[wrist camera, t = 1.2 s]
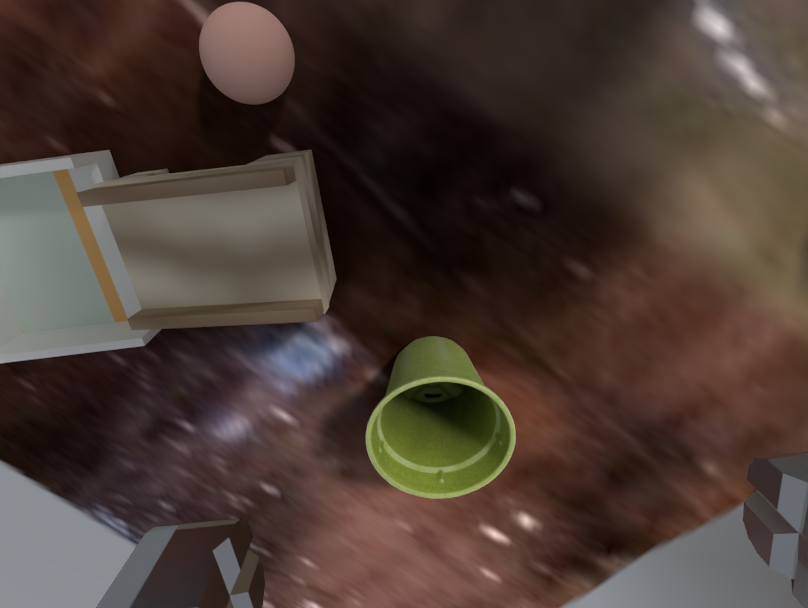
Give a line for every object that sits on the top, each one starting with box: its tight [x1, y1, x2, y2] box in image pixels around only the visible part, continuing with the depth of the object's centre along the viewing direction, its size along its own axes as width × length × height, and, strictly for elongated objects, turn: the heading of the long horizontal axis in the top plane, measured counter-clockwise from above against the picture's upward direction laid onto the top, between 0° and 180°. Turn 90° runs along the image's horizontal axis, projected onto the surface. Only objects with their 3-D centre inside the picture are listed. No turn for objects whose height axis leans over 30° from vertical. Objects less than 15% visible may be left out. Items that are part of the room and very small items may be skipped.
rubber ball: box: [199, 2, 295, 105], centre depth 26 cm, size 5×5×5 cm
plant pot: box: [366, 336, 516, 498], centre depth 33 cm, size 9×9×9 cm
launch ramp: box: [77, 150, 337, 330], centre depth 29 cm, size 9×12×7 cm
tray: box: [0, 150, 161, 363], centre depth 31 cm, size 12×11×4 cm
